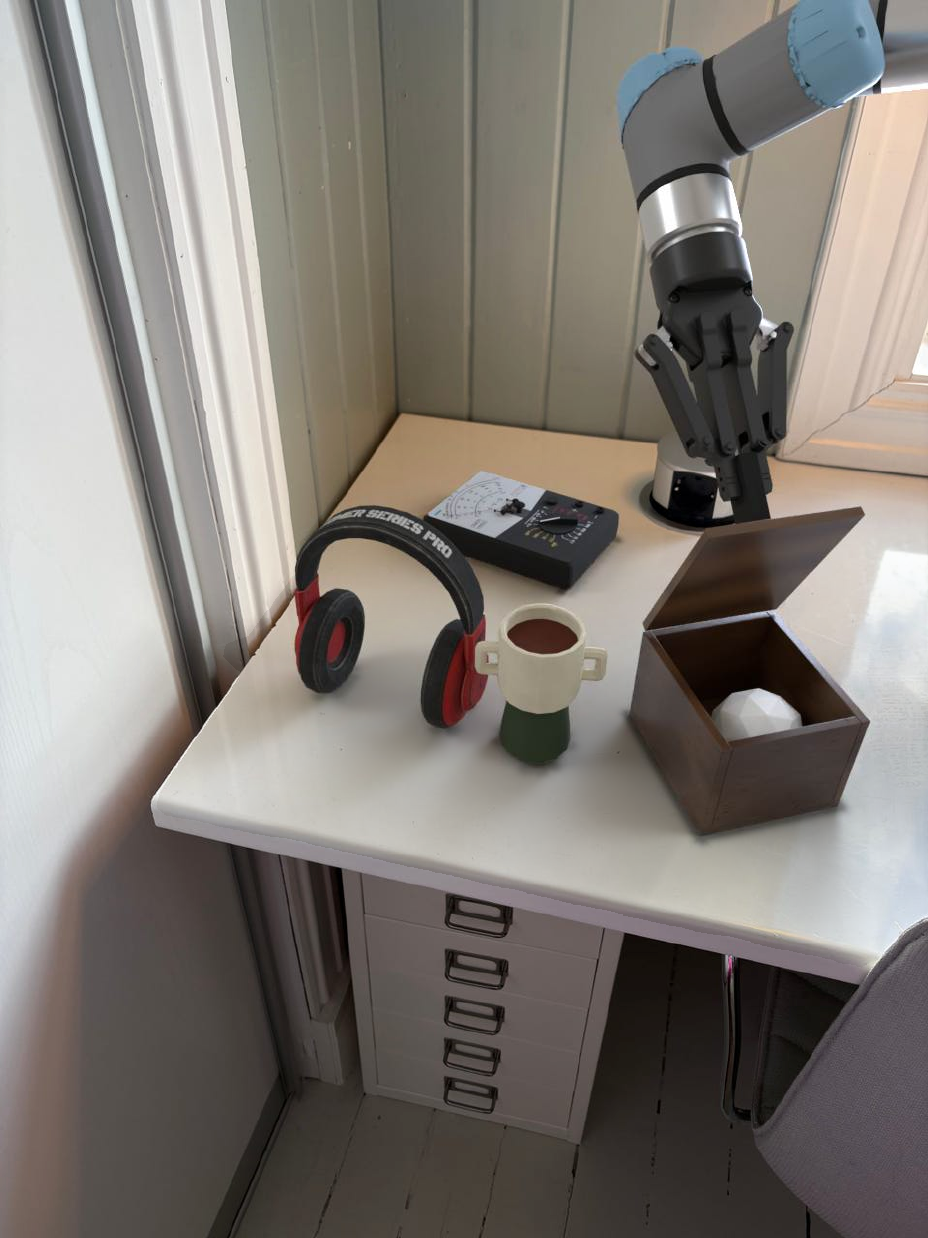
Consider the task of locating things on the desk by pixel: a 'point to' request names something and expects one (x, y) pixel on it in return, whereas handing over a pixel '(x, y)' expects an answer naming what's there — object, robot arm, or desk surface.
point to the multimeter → (525, 528)
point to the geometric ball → (754, 715)
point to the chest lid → (749, 566)
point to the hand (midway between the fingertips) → (756, 538)
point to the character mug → (539, 677)
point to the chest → (751, 767)
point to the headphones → (340, 620)
